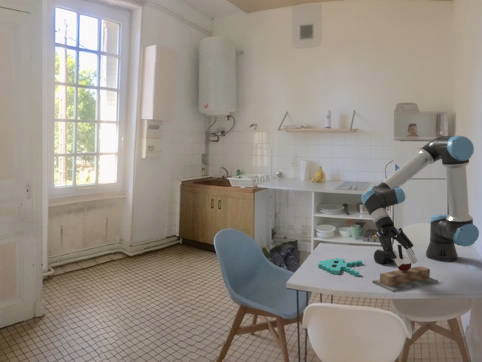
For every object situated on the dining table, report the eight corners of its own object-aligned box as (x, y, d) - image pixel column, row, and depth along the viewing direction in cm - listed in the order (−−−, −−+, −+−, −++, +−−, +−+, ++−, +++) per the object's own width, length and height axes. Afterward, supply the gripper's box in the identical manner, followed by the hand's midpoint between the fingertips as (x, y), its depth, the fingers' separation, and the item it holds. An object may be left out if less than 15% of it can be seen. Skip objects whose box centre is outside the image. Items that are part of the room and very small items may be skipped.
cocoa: (405, 267, 181) (407, 241, 180) (416, 271, 175) (417, 244, 174) (389, 269, 177) (390, 242, 177) (399, 272, 172) (400, 245, 171)
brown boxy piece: (416, 274, 188) (416, 263, 188) (437, 282, 177) (438, 271, 177) (372, 282, 178) (372, 271, 177) (392, 291, 167) (392, 280, 166)
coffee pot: (371, 260, 209) (384, 261, 212) (397, 275, 192) (410, 275, 196) (375, 247, 207) (387, 247, 211) (400, 260, 191) (413, 261, 195)
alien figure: (362, 264, 205) (322, 261, 212) (362, 260, 204) (322, 256, 212) (358, 277, 186) (315, 272, 193) (358, 272, 186) (315, 268, 193)
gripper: (395, 222, 193) (420, 264, 180) (360, 226, 184) (384, 271, 171) (403, 213, 187) (431, 256, 174) (368, 217, 179) (394, 262, 166)
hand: (408, 263), depth 173 cm, fingers closed on cocoa, 8 cm apart
